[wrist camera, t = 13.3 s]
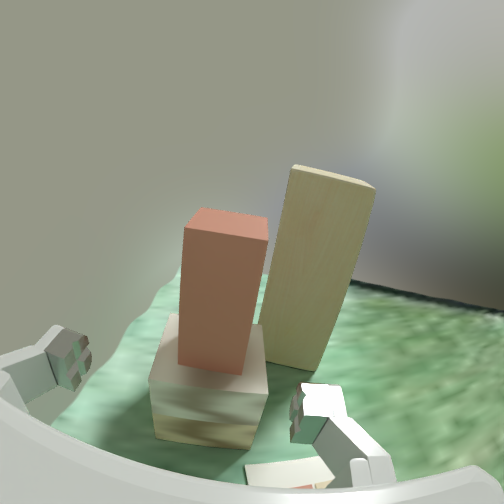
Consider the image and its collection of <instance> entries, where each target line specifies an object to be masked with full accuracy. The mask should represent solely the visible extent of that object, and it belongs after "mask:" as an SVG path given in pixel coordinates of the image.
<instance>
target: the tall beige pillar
mask: <svg viewBox="0 0 504 504" xmlns="http://www.w3.org/2000/svg"><path fill="white" fill-rule="evenodd" d="M375 194H376V189H375V188H374V187H372V186H371V185H369V184H368V183H366V182H364V181H362V180H358V179H355V178H351V177H347V176H343V175H339V174H335V173H331V172H327V171H323V170H319V169H314V168H310V167H305V166H302V165H297V164H296V165H294V166H293V167H292V168H291V171H290V175H289V180H288V185H287V190H286V195H285V200H284V205H283V210H282V214H281V219H280V224H279V229H278V234H277V239H276V243H275V248H274V253H273V257H272V262H271V267H270V271H269V276H268V280H267V285H266V289H265V294H264V298H263V303H262V307H261V312H260V316H259V321H258V325H262V331H263V342H264V352H265V361H268V362H272V363H276V364H280V365H285V366H289V367H294V368H299V369H303V370H308V371H316V370H317V368H318V366H319V363H320V361H321V358H322V356H323V353H324V351H325V348H326V346H327V344H328V341H329V338H330V336H331V333H332V331H333V328H334V326H335V323H336V320H337V317H338V315H339V312H340V309H341V306H342V304H343V301H344V298H345V295H346V292H347V289H348V286H349V283H350V280H351V277H352V274H353V271H354V268H355V265H356V261H357V258H358V255H359V252H360V249H361V246H362V242H363V239H364V236H365V232H366V229H367V225H368V221H369V217H370V214H371V210H372V207H373V203H374V199H375Z"/></svg>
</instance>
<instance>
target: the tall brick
mask: <svg viewBox="0 0 504 504" xmlns="http://www.w3.org/2000/svg"><path fill="white" fill-rule="evenodd" d="M267 245H268V219H267V218H266V217H259V216H254V215H248V214H241V213H235V212H229V211H222V210H216V209H209V208H203V207H201V208H200V209H199V210H198V211H197V213H196V214H195V215H194V216H193V217H192V219H191V220H190V221H189V222H188V224H187V225H186V226H185V227H184V239H183V252H182V266H181V282H180V301H179V328H178V365H183V366H188V367H193V368H199V369H204V370H209V371H215V372H221V373H227V374H234V375H241V376H242V371H243V366H244V361H245V356H246V351H247V346H248V342H249V337H250V332H251V327H252V322H253V317H254V312H255V307H256V302H257V297H258V291H259V286H260V281H261V276H262V271H263V266H264V260H265V256H266V250H267Z"/></svg>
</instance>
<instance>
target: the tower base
mask: <svg viewBox="0 0 504 504" xmlns="http://www.w3.org/2000/svg"><path fill="white" fill-rule="evenodd" d="M178 328H179V314H175V313H170V315H169V318H168V321H167V324H166V327H165V329H164V332H163V335H162V338H161V341H160V344H159V347H158V350H157V353H156V356H155V359H154V362H153V365H152V368H151V372H150V375H149V378H148V382H149V392H150V400H151V408H152V416H153V423H154V430H155V436H156V438H157V439H162V440H168V441H174V442H180V443H186V444H193V445H201V446H210V447H219V448H231V449H245V450H250V448H251V445H252V443H253V440H254V437H255V434H256V431H257V428H258V425H259V422H260V419H261V416H262V413H263V410H264V407H265V404H266V401H267V397H268V383H267V373H266V362H265V352H264V342H263V331H262V325H258V324H252V327H251V332H250V337H249V342H248V346H247V351H246V356H245V361H244V366H243V371H242V376H241V375H234V374H227V373H221V372H215V371H209V370H204V369H199V368H193V367H188V366H183V365H178Z"/></svg>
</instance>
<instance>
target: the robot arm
mask: <svg viewBox="0 0 504 504" xmlns="http://www.w3.org/2000/svg"><path fill="white" fill-rule="evenodd" d="M88 344H89V342H88V338H87V336H85V335H83V334H80V333H78V332H75V331H72V330H70V329H67V328H64V327H62V326H59V325H54V326H52V327H51V328H50V330H48V331H47V332H46V334H45V335H44V336H43V337H42V338H41V339H40V340H39V341H38V342H37V343H36V344H35V345H34V346H28V347H25V348H22V349H19V350H16V351H13V352H10V353H7V354H4V355H1V356H0V504H504V492H503V489H502V487H501V485H500V483H499V482H498V481H497V480H496V479H495V478H494V477H492V476H491V475H490V474H488V473H487V472H486V471H484V470H483V469H481V468H480V467H478V466H476V465H470V466H465V467H462V468H459V469H455V470H452V471H448V472H444V473H440V474H436V475H431V476H427V477H422V478H417V479H412V480H407V481H401V482H397V480H396V476H395V472H394V468H393V464H392V460H391V456H390V455H389V454H388V453H387V452H386V451H385V450H384V449H383V448H382V447H381V446H380V445H379V444H378V443H377V442H376V441H375V440H374V439H373V438H372V437H371V436H369V435H368V434H367V433H366V432H365V431H364V430H363V429H362V428H361V427H360V426H359V425H358V424H357V423H356V422H355V421H354V420H353V419H352V418H348V417H347V412H346V408H345V403H344V398H343V394H342V390H341V386H340V385H336V384H321V383H309V382H300V383H299V384H298V386H297V388H296V389H297V394H296V395H295V396H293V399H292V401H291V405H290V413H289V419H290V420H291V422H292V425H291V427H290V443H299V444H313V445H312V446H313V447H314V449H315V450H316V452H317V453H318V454H319V456H320V457H321V459H322V460H323V461H324V463H325V464H326V466H327V467H328V468H329V470H330V471H331V472H332V474H333V475H334V477H335V478H334V479H333V480H332V481H331V482H330V483H329V484H328V485H327V486H326V487H325V488H324V489H296V488H274V487H261V486H251V485H242V484H234V483H227V482H221V481H215V480H209V479H204V478H198V477H194V476H189V475H184V474H180V473H176V472H172V471H168V470H164V469H160V468H156V467H153V466H149V465H146V464H143V463H139V462H136V461H133V460H130V459H127V458H124V457H121V456H118V455H115V454H113V453H110V452H107V451H105V450H102V449H99V448H97V447H94V446H92V445H90V444H87V443H85V442H83V441H80V440H78V439H76V438H73V437H71V436H69V435H67V434H65V433H63V432H61V431H59V430H57V429H55V428H53V427H51V426H49V425H47V424H45V423H43V422H41V421H39V420H37V419H35V418H34V417H32V416H30V413H29V411H28V409H27V407H26V406H25V404H26V403H28V402H30V401H32V400H34V399H35V398H37V397H39V396H41V395H43V394H44V393H46V392H48V391H50V390H51V389H53V388H55V387H57V385H59V386H62V387H64V388H66V389H69V390H71V391H75V390H76V388H77V387H78V386H79V384H80V382H81V375H84V374H86V373H87V372H88V370H89V369H90V365H91V362H92V356H91V352H90V350H89V349H88V348H87V345H88Z"/></svg>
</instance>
